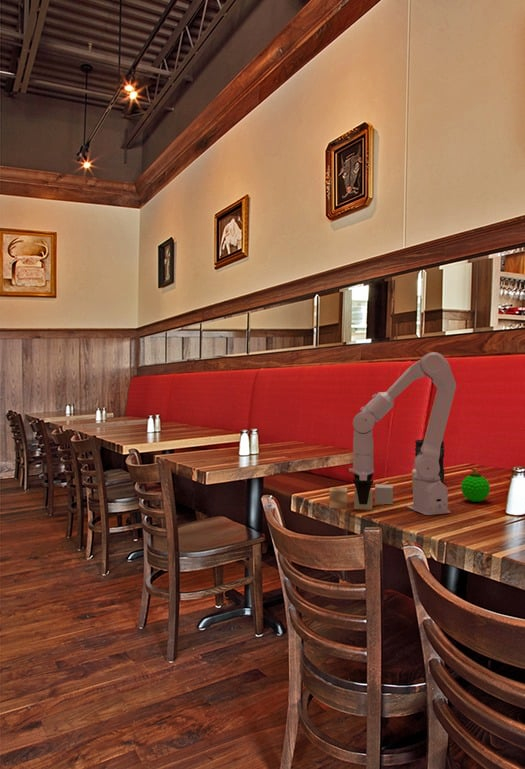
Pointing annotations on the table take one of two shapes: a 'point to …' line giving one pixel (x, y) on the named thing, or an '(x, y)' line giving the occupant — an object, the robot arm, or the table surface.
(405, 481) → the table surface
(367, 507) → the sage block
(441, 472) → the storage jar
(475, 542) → the table surface
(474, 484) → the ornament
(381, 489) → the white cube
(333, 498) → the birch block
